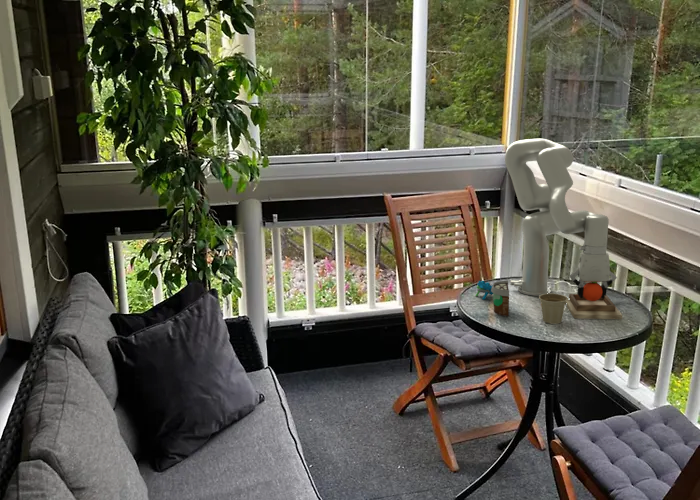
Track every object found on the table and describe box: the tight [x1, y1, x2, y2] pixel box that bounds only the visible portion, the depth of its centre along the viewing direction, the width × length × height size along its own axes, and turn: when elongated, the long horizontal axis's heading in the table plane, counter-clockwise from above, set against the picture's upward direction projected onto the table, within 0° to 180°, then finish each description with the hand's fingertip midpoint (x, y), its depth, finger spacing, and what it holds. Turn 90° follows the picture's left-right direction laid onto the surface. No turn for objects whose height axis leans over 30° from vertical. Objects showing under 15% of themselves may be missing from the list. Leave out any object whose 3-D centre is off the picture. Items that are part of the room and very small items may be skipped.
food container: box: [491, 280, 510, 317], centre depth 225 cm, size 12×6×10 cm, turn 168°
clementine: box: [582, 282, 603, 301], centre depth 224 cm, size 8×7×7 cm
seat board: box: [566, 293, 623, 320], centre depth 225 cm, size 16×20×4 cm
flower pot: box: [538, 292, 568, 325], centre depth 214 cm, size 9×9×9 cm
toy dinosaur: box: [475, 280, 493, 301], centre depth 240 cm, size 11×6×10 cm
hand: (591, 296), depth 225 cm, fingers closed on clementine, 6 cm apart
